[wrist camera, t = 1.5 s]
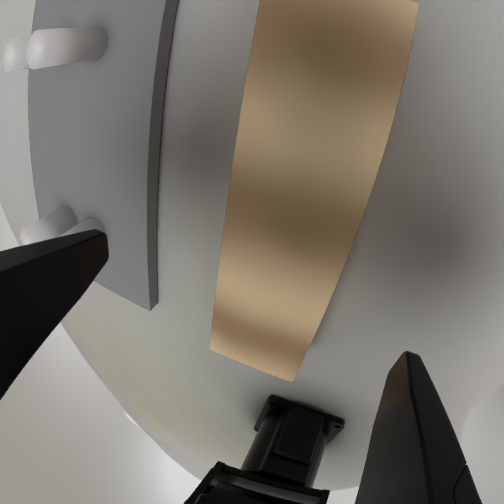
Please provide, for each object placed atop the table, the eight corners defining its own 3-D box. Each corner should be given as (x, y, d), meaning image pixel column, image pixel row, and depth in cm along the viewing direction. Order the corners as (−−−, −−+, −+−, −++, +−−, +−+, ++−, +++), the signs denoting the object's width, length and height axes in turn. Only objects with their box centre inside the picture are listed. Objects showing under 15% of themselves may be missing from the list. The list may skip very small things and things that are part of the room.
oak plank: (307, 339, 19) (292, 382, 16) (233, 311, 20) (209, 348, 17) (408, 23, 9) (419, 3, 6) (292, -4, 10) (265, -28, 7)
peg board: (157, 302, 22) (116, 348, 18) (54, 247, 25) (14, 276, 21) (187, -44, 10) (118, -71, 6) (48, -11, 12) (-10, -8, 8)
